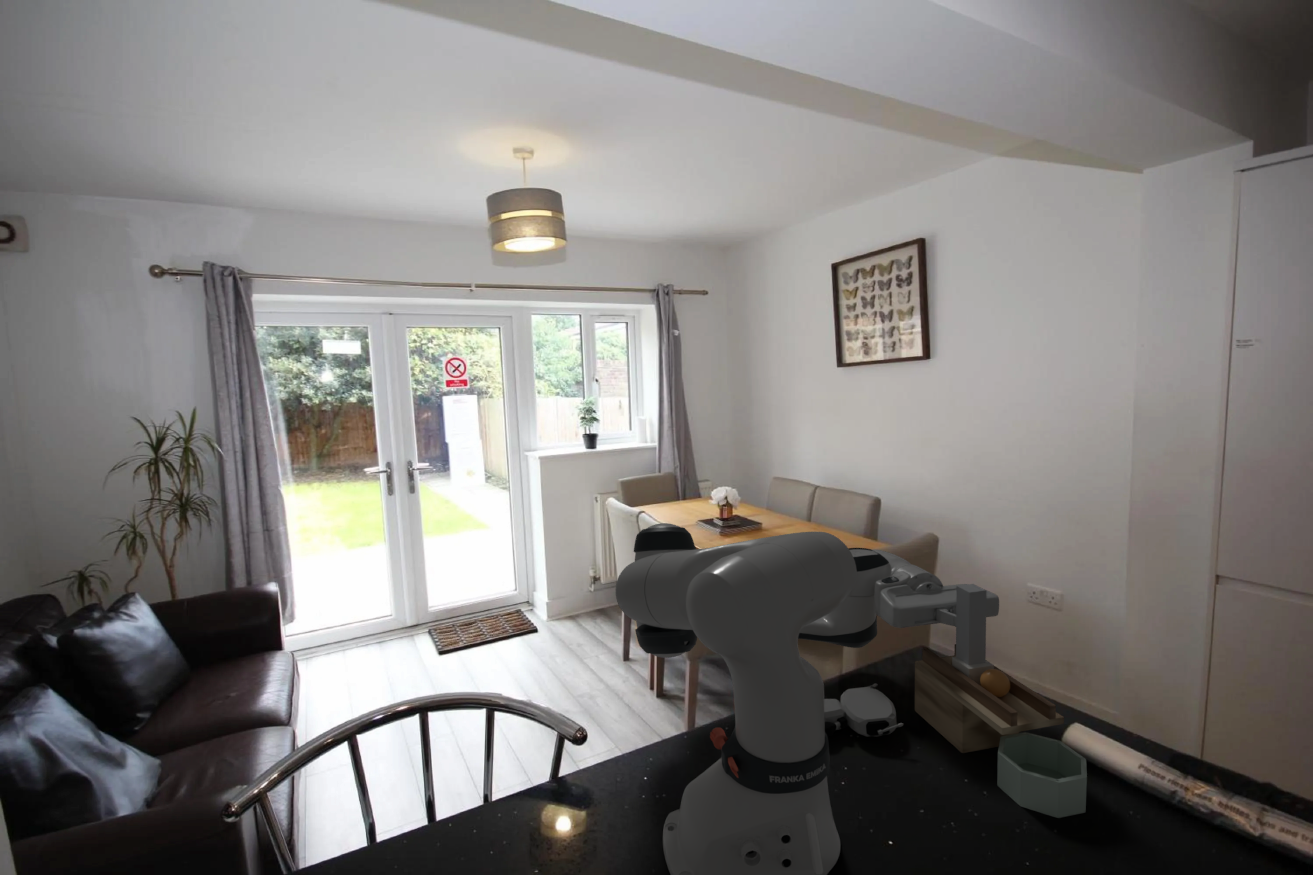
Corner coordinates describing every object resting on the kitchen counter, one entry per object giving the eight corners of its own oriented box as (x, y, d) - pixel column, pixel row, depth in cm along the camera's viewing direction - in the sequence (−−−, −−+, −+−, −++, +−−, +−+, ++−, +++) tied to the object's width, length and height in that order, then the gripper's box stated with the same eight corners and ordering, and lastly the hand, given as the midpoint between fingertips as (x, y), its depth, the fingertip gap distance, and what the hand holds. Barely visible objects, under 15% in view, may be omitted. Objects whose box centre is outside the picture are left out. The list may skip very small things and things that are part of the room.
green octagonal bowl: (1038, 822, 79) (1039, 786, 78) (982, 771, 89) (982, 739, 88) (1104, 808, 80) (1106, 773, 80) (1042, 760, 90) (1043, 728, 90)
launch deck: (1001, 788, 85) (1002, 714, 84) (914, 710, 105) (914, 650, 103) (1062, 775, 87) (1064, 703, 86) (966, 702, 106) (966, 642, 105)
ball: (972, 686, 94) (990, 704, 90) (976, 664, 93) (995, 682, 89) (994, 682, 95) (1013, 700, 91) (999, 661, 94) (1018, 679, 90)
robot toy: (813, 755, 96) (908, 746, 95) (810, 729, 95) (906, 719, 94) (797, 711, 108) (881, 703, 107) (794, 688, 107) (879, 679, 107)
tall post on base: (968, 685, 95) (970, 595, 93) (951, 673, 98) (952, 586, 97) (993, 681, 95) (995, 591, 94) (975, 669, 99) (976, 583, 98)
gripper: (967, 603, 114) (1024, 635, 100) (867, 615, 110) (912, 650, 97) (968, 571, 113) (1025, 598, 100) (867, 582, 109) (913, 612, 96)
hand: (969, 624), depth 98 cm, fingers closed, pressing on tall post on base
